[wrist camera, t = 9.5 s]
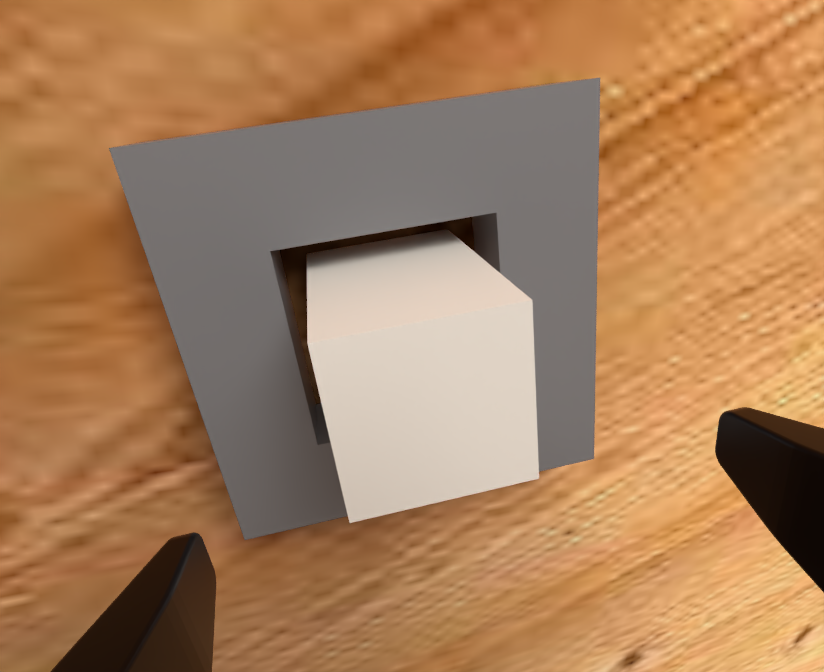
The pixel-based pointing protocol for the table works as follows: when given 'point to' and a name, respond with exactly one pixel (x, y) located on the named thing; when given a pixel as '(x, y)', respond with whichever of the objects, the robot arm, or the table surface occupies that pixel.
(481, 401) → the plug
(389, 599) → the table surface
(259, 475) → the socket block
